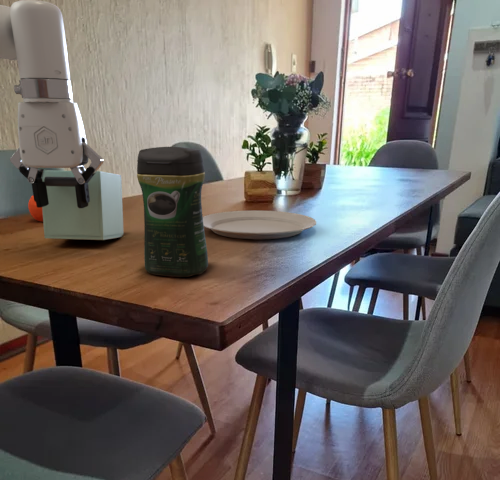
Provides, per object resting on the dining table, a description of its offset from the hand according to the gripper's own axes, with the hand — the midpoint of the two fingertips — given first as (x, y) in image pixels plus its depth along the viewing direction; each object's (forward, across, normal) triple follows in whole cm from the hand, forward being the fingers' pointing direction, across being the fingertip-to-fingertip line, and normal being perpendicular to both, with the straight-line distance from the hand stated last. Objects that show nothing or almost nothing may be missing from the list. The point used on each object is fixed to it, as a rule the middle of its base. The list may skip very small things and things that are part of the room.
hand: (63, 205), depth 88 cm
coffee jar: (+8, +22, -10) cm, 26 cm away
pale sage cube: (+7, 0, +7) cm, 10 cm away
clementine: (+8, -16, +26) cm, 32 cm away
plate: (+8, +32, +24) cm, 41 cm away
